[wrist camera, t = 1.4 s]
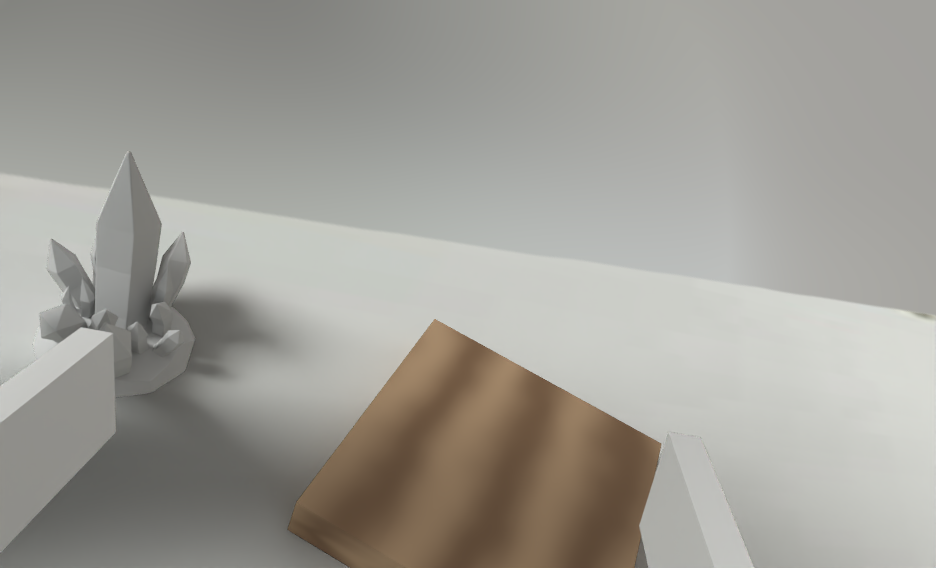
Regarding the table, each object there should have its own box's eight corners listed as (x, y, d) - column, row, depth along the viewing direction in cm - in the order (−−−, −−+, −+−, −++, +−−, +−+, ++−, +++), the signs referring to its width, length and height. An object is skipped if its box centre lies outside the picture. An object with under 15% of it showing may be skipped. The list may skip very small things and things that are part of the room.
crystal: (6, 422, 42) (-14, 223, 33) (56, 274, 52) (51, 88, 43) (185, 430, 46) (211, 251, 37) (201, 290, 55) (224, 121, 46)
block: (287, 529, 43) (296, 502, 41) (423, 344, 59) (434, 319, 57) (584, 708, 41) (607, 687, 39) (643, 466, 57) (661, 443, 55)
